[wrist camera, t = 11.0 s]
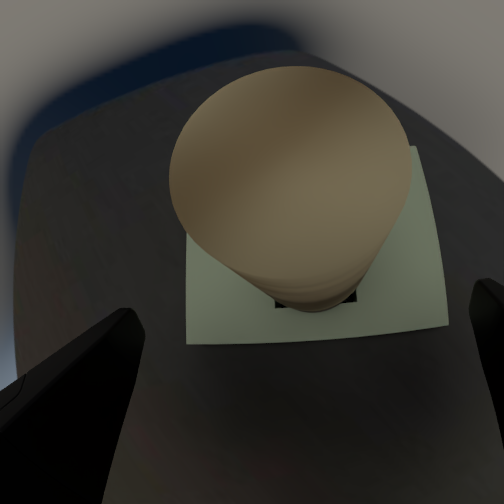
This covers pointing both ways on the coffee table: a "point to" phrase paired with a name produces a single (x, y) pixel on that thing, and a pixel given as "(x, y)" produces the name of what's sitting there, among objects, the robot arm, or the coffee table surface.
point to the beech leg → (292, 182)
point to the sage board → (345, 314)
